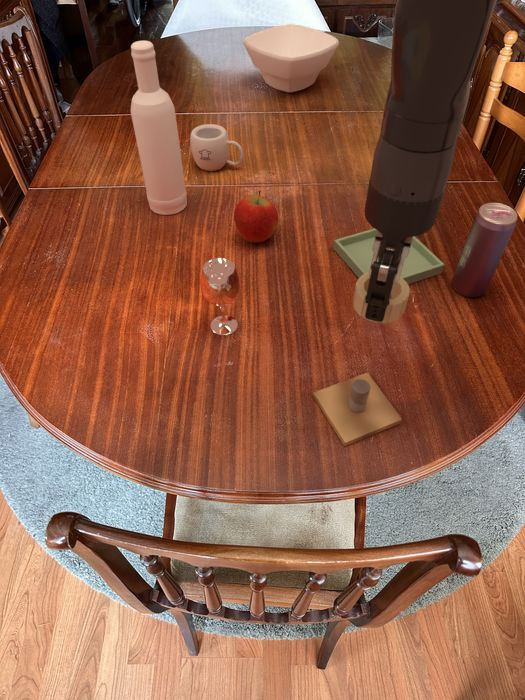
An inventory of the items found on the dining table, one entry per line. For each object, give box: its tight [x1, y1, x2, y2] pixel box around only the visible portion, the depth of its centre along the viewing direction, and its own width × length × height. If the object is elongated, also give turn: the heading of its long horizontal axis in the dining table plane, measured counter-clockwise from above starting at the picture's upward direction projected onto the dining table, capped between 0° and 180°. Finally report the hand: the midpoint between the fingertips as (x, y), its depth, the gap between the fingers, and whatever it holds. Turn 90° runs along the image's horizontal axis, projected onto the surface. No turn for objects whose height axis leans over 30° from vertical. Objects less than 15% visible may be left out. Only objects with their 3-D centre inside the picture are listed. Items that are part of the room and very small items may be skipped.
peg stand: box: [312, 372, 403, 447], centre depth 69 cm, size 9×9×6 cm
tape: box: [352, 272, 411, 324], centre depth 63 cm, size 6×6×3 cm
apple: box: [233, 190, 279, 244], centre depth 94 cm, size 8×8×10 cm
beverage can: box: [451, 202, 518, 298], centre depth 82 cm, size 6×6×15 cm
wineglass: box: [200, 257, 241, 336], centre depth 78 cm, size 6×6×12 cm
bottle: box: [130, 40, 188, 216], centre depth 94 cm, size 8×8×30 cm
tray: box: [333, 228, 445, 285], centre depth 92 cm, size 14×14×2 cm
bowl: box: [242, 23, 340, 93], centre depth 139 cm, size 22×22×12 cm
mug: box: [189, 123, 244, 172], centre depth 112 cm, size 12×8×8 cm
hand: (380, 299), depth 63 cm, fingers closed on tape, 6 cm apart
